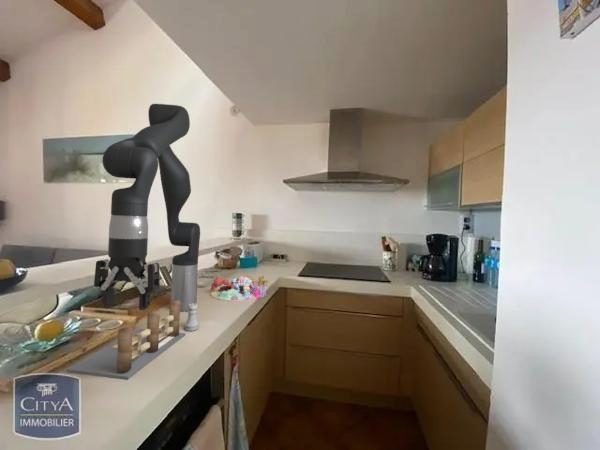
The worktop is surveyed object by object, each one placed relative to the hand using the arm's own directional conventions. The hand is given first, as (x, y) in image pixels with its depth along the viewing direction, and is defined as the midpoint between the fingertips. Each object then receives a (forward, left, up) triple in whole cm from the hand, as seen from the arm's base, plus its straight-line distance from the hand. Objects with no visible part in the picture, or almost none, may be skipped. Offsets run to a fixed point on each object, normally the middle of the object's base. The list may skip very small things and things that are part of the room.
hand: (126, 307), depth 64 cm
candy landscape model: (-70, +3, -16) cm, 72 cm away
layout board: (-10, -5, -15) cm, 19 cm away
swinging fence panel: (-3, 0, -14) cm, 15 cm away
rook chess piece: (-27, +2, -15) cm, 31 cm away
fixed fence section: (-15, 0, -15) cm, 21 cm away
